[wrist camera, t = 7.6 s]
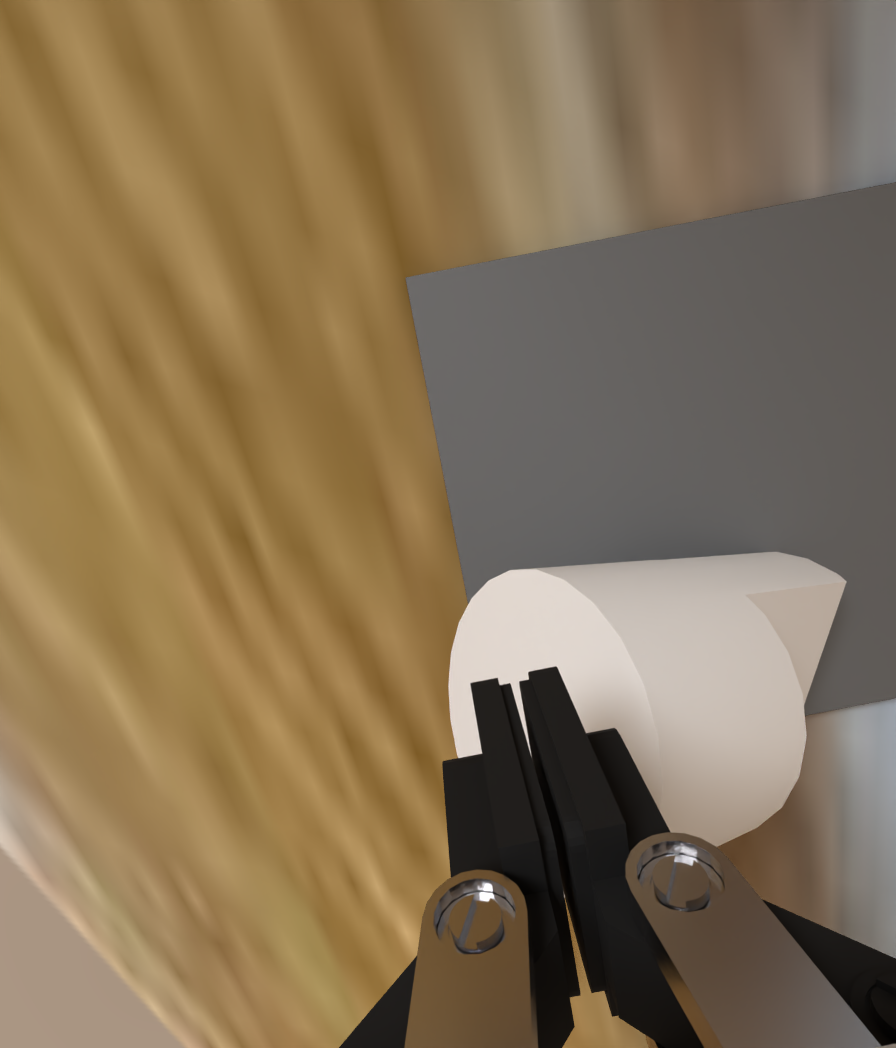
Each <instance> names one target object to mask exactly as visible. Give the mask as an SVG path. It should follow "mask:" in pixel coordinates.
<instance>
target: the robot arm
mask: <svg viewBox="0 0 896 1048" xmlns="http://www.w3.org/2000/svg"><path fill="white" fill-rule="evenodd" d="M528 676H529V680H523V681H519V686H520V692H521V698H522V704H523V710H524V716H525V721H526V727H527V733H528V739H529V745H530V750H531V754H530V750H529V747H528V743H527V740H526V736H525V733H524V729H523V726H522V722H521V719H520V715H519V712H518V708H517V705H516V701H515V697H514V694H513V690H512V687H511V684H510V683H508V684H503V685H500V684H499V681H498V678H493V679H488V680H483V681H478V682H473V683H470V686H471V692H472V697H473V703H474V709H475V715H476V721H477V726H478V732H479V738H480V744H481V750H482V754H477V755H472V756H467V757H462V758H457V759H452V760H447V761H443V780H444V793H445V806H446V819H447V832H448V845H449V858H450V871H451V878H449V879H447V880H446V881H445V882H444V883H443V884H442V885H440V886H439V887H438V888H437V889H436V890H435V891H434V893H433V894H432V896H431V897H430V899H429V900H428V902H427V904H426V907H425V911H424V914H423V917H422V924H421V932H420V939H419V946H418V953H417V956H416V958H415V959H414V960H413V961H412V962H411V964H410V965H409V966H408V967H407V968H406V969H405V971H404V972H403V973H402V974H401V975H400V977H399V978H398V979H397V980H396V981H395V982H394V984H393V985H392V986H391V987H390V988H389V989H388V991H387V992H386V993H385V994H384V995H383V997H382V998H381V999H380V1000H379V1001H378V1002H377V1004H376V1005H375V1006H374V1007H373V1008H372V1009H371V1011H370V1012H369V1013H368V1014H367V1015H366V1017H365V1018H364V1019H363V1020H362V1021H361V1022H360V1024H359V1025H358V1026H357V1027H356V1028H355V1030H354V1031H353V1032H352V1033H351V1034H350V1035H349V1037H348V1038H347V1039H346V1040H345V1041H344V1042H343V1044H342V1045H341V1046H340V1047H339V1048H562V1047H563V1045H564V1043H565V1042H566V1040H567V1038H568V1037H569V1035H570V1033H571V1031H572V1030H573V1028H574V1021H573V1015H572V1009H571V1003H570V998H569V997H574V996H579V995H580V988H579V982H578V976H577V970H576V964H575V958H574V952H573V946H572V940H571V934H570V928H569V922H568V916H567V910H566V904H565V899H566V903H567V906H568V910H569V913H570V917H571V921H572V924H573V928H574V932H575V935H576V939H577V943H578V946H579V950H580V954H581V957H582V961H583V965H584V968H585V972H586V976H587V979H588V983H589V986H590V989H591V992H592V993H594V992H599V991H605V994H606V997H607V1001H608V1004H609V1007H610V1011H611V1014H612V1017H613V1016H618V1015H619V1018H621V1019H622V1020H624V1021H625V1022H627V1023H628V1024H630V1025H631V1026H633V1027H634V1028H636V1029H637V1030H639V1031H640V1032H642V1033H643V1034H645V1035H646V1041H647V1044H648V1047H649V1048H896V959H895V958H893V957H891V956H888V955H886V954H884V953H882V952H879V951H877V950H875V949H873V948H870V947H868V946H866V945H864V944H861V943H859V942H857V941H855V940H852V939H850V938H848V937H846V936H843V935H841V934H839V933H837V932H834V931H832V930H830V929H828V928H825V927H823V926H821V925H819V924H816V923H814V922H812V921H810V920H807V919H805V918H803V917H801V916H798V915H796V914H794V913H792V912H789V911H787V910H785V909H783V908H780V907H778V906H776V905H774V904H771V903H769V902H767V901H765V900H762V899H761V898H760V897H759V895H758V894H757V893H756V892H755V890H754V889H753V888H752V887H751V886H750V884H749V883H748V882H747V881H746V879H745V878H744V877H743V876H742V875H741V873H740V872H739V871H738V870H737V868H736V867H735V866H734V865H733V863H732V862H731V861H730V860H729V859H728V857H727V856H725V855H724V854H723V853H722V852H721V851H720V850H719V849H718V848H717V847H716V846H714V845H712V844H711V843H709V842H707V841H705V840H703V839H702V838H699V837H696V836H692V835H689V834H685V833H672V832H670V830H669V828H668V826H667V824H666V822H665V820H664V818H663V817H662V815H661V813H660V811H659V809H658V807H657V805H656V803H655V801H654V799H653V797H652V795H651V793H650V791H649V790H648V788H647V786H646V784H645V782H644V780H643V778H642V776H641V774H640V772H639V770H638V768H637V766H636V764H635V763H634V761H633V759H632V757H631V755H630V753H629V751H628V749H627V747H626V745H625V743H624V741H623V739H622V737H621V736H620V734H619V732H618V731H617V729H615V728H610V729H605V730H600V731H595V732H590V733H586V732H585V729H584V727H583V725H582V723H581V720H580V718H579V716H578V713H577V711H576V709H575V707H574V704H573V702H572V700H571V697H570V695H569V693H568V691H567V688H566V686H565V684H564V681H563V679H562V677H561V675H560V672H559V670H558V668H557V667H556V666H555V667H549V668H544V669H539V670H534V671H529V672H528ZM531 756H532V757H531ZM564 895H565V898H564Z"/></svg>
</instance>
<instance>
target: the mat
mask: <svg viewBox="0 0 896 1048" xmlns="http://www.w3.org/2000/svg"><path fill="white" fill-rule="evenodd" d="M406 283H407V288H408V293H409V298H410V304H411V309H412V314H413V319H414V324H415V330H416V335H417V340H418V345H419V350H420V356H421V361H422V366H423V371H424V376H425V382H426V387H427V392H428V397H429V402H430V408H431V413H432V418H433V423H434V428H435V434H436V439H437V444H438V449H439V455H440V460H441V465H442V470H443V475H444V481H445V486H446V491H447V496H448V501H449V507H450V512H451V517H452V522H453V527H454V533H455V538H456V543H457V548H458V553H459V559H460V564H461V569H462V574H463V579H464V585H465V590H466V595H467V600H468V604H469V602H470V600H471V599H472V597H473V596H474V595H475V594H476V593H477V592H478V591H479V590H480V589H481V588H482V587H483V586H484V585H485V584H486V583H487V582H488V581H489V580H491V579H493V578H495V577H497V576H499V575H501V574H503V573H505V572H507V571H509V570H518V569H532V568H546V567H560V566H574V565H588V564H602V563H616V562H630V561H644V560H666V559H680V558H694V557H708V556H721V555H735V554H749V553H763V552H780V553H785V554H789V555H794V556H798V557H802V558H807V559H809V560H811V561H813V562H815V563H817V564H819V565H821V566H823V567H825V568H827V569H829V570H831V571H833V572H835V573H837V574H839V575H840V576H841V577H842V578H843V579H844V580H846V581H847V582H846V585H845V588H844V591H843V594H842V596H841V599H840V602H839V605H838V608H837V611H836V614H835V617H834V620H833V623H832V625H831V628H830V631H829V634H828V637H827V640H826V643H825V646H824V649H823V652H822V654H821V657H820V660H819V663H818V666H817V669H816V672H815V675H814V678H813V681H812V683H811V686H810V689H809V692H808V695H807V698H806V701H805V704H804V713H805V716H806V715H811V714H816V713H821V712H826V711H832V710H837V709H842V708H847V707H852V706H857V705H863V704H868V703H873V702H878V701H883V700H888V699H894V698H896V182H895V183H890V184H885V185H879V186H874V187H869V188H864V189H859V190H854V191H849V192H843V193H838V194H833V195H828V196H823V197H818V198H813V199H807V200H802V201H797V202H792V203H787V204H782V205H777V206H771V207H766V208H761V209H756V210H751V211H746V212H741V213H735V214H730V215H725V216H720V217H715V218H710V219H705V220H699V221H694V222H689V223H684V224H679V225H674V226H669V227H663V228H658V229H653V230H648V231H643V232H638V233H633V234H627V235H622V236H617V237H612V238H607V239H602V240H597V241H591V242H586V243H581V244H576V245H571V246H566V247H561V248H555V249H550V250H545V251H540V252H535V253H530V254H525V255H519V256H514V257H509V258H504V259H499V260H494V261H489V262H483V263H478V264H473V265H468V266H463V267H458V268H453V269H447V270H442V271H437V272H432V273H427V274H422V275H417V276H411V277H406Z"/></svg>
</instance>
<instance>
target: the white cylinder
mask: <svg viewBox="0 0 896 1048" xmlns="http://www.w3.org/2000/svg"><path fill="white" fill-rule="evenodd" d="M846 582H847V581H846V580H844V579H843V578H842V577H841V576H840V575H839V574H837V573H835V572H833V571H831V570H829V569H827V568H825V567H823V566H821V565H819V564H817V563H815V562H813V561H811V560H809V559H807V558H802V557H798V556H794V555H789V554H785V553H780V552H763V553H749V554H735V555H721V556H708V557H694V558H680V559H666V560H644V561H630V562H616V563H602V564H588V565H574V566H560V567H546V568H532V569H518V570H509V571H507V572H505V573H503V574H501V575H499V576H497V577H495V578H493V579H491V580H489V581H488V582H487V583H486V584H485V585H484V586H483V587H482V588H481V589H480V590H479V591H478V592H477V593H476V594H475V595H474V596H473V597H472V599H471V600H470V602H469V604H468V606H467V608H466V610H465V612H464V614H463V616H462V618H461V620H460V622H459V624H458V628H457V632H456V636H455V640H454V644H453V647H452V651H451V661H450V672H449V684H448V685H449V703H450V719H451V725H452V730H453V735H454V740H455V746H456V751H457V755H458V758H462V757H467V756H472V755H477V754H482V750H481V744H480V738H479V732H478V726H477V721H476V715H475V709H474V703H473V697H472V692H471V686H470V683H473V682H478V681H483V680H488V679H493V678H498V681H499V684H500V685H503V684H508V683H510V684H511V687H512V690H513V694H514V697H515V701H516V705H517V708H518V712H519V715H520V719H521V722H522V726H523V729H524V733H525V736H526V740H527V743H528V747H529V750H530V745H529V739H528V733H527V727H526V721H525V716H524V710H523V704H522V698H521V692H520V686H519V681H523V680H529V676H528V672H529V671H534V670H539V669H544V668H549V667H555V666H556V667H557V668H558V670H559V672H560V675H561V677H562V679H563V681H564V684H565V686H566V688H567V691H568V693H569V695H570V697H571V700H572V702H573V704H574V707H575V709H576V711H577V713H578V716H579V718H580V720H581V723H582V725H583V727H584V729H585V732H586V733H590V732H595V731H600V730H605V729H610V728H615V729H617V731H618V732H619V734H620V736H621V737H622V739H623V741H624V743H625V745H626V747H627V749H628V751H629V753H630V755H631V757H632V759H633V761H634V763H635V764H636V766H637V768H638V770H639V772H640V774H641V776H642V778H643V780H644V782H645V784H646V786H647V788H648V790H649V791H650V793H651V795H652V797H653V799H654V801H655V803H656V805H657V807H658V809H659V811H660V813H661V815H662V817H663V818H664V820H665V822H666V824H667V826H668V828H669V830H670V832H672V833H685V834H689V835H692V836H696V837H699V838H702V839H703V840H705V841H707V842H709V843H711V844H712V845H714V846H716V847H717V846H720V845H722V844H724V843H726V842H728V841H730V840H732V839H734V838H736V837H739V836H741V835H743V834H745V833H747V832H749V831H751V830H753V829H756V828H757V827H759V826H760V825H761V824H762V823H764V822H765V821H766V820H767V819H768V818H770V817H771V816H772V815H773V814H775V813H776V812H777V811H778V810H779V809H781V808H782V807H783V805H784V803H785V801H786V799H787V798H788V796H789V794H790V792H791V790H792V789H793V787H794V785H795V783H796V782H797V780H798V778H799V776H800V770H801V765H802V760H803V754H804V749H805V744H806V738H807V736H806V724H805V713H804V704H805V701H806V698H807V695H808V692H809V689H810V686H811V683H812V681H813V678H814V675H815V672H816V669H817V666H818V663H819V660H820V657H821V654H822V652H823V649H824V646H825V643H826V640H827V637H828V634H829V631H830V628H831V625H832V623H833V620H834V617H835V614H836V611H837V608H838V605H839V602H840V599H841V596H842V594H843V591H844V588H845V585H846ZM530 754H531V750H530ZM531 757H532V756H531ZM564 898H565V895H564Z"/></svg>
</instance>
